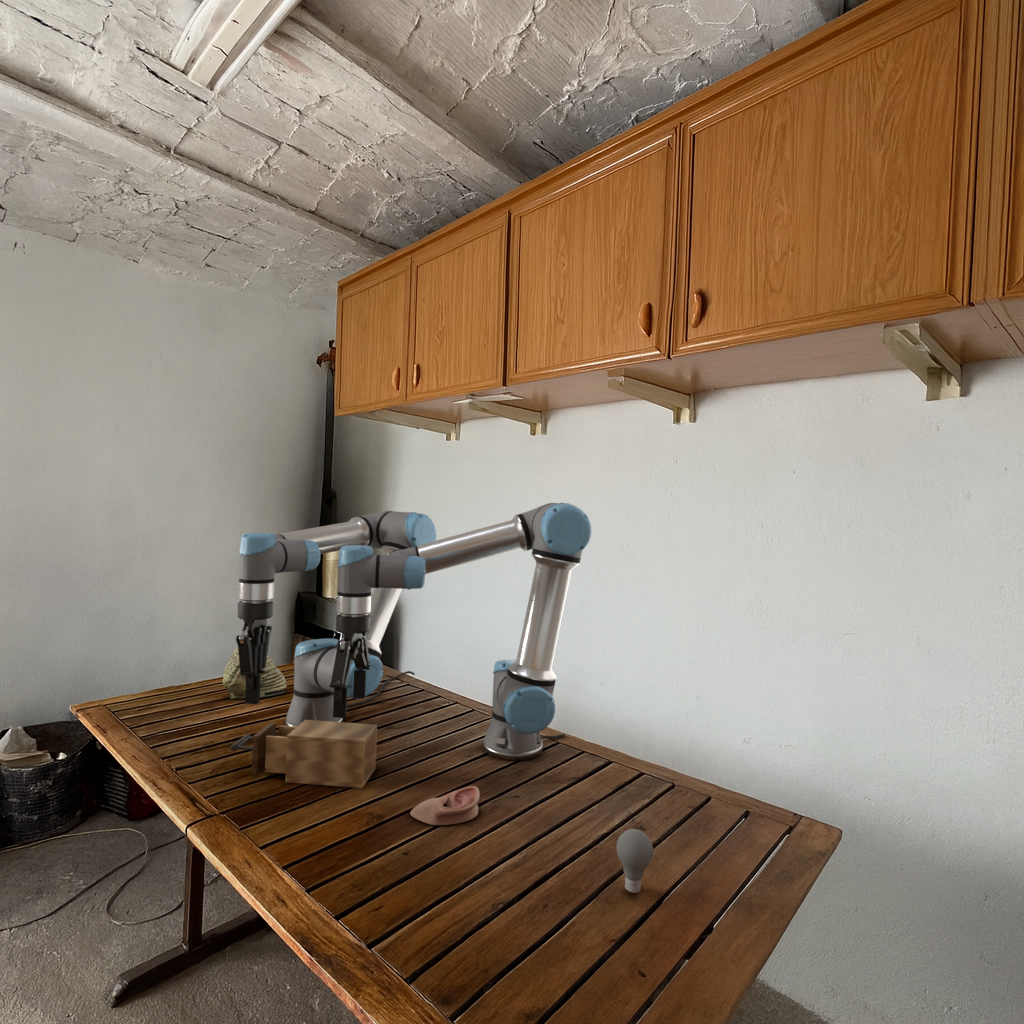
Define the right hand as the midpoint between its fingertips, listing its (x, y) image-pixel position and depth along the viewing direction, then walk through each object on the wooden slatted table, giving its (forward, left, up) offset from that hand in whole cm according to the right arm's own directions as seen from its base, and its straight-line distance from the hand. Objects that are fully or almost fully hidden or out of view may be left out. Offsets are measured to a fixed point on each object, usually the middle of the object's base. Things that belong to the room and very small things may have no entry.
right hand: (349, 707), depth 144 cm
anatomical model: (-15, +24, -16) cm, 32 cm away
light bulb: (-36, +59, -16) cm, 71 cm away
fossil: (+16, -68, -16) cm, 71 cm away
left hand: (+20, -11, 0) cm, 23 cm away
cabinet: (+3, -2, -16) cm, 16 cm away
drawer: (+13, -8, -15) cm, 21 cm away
